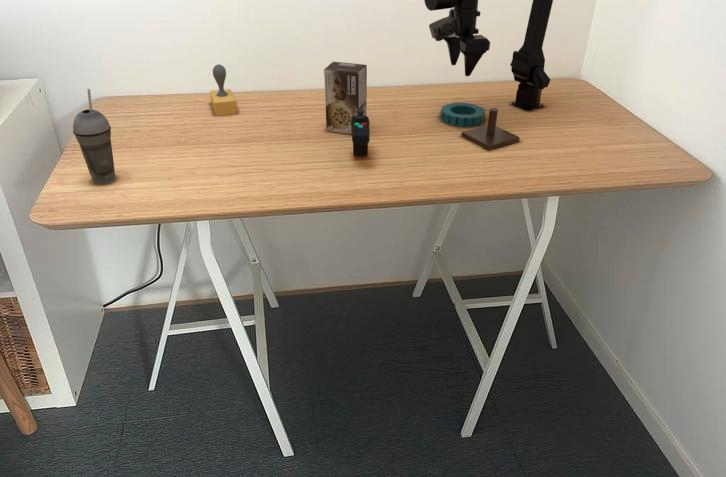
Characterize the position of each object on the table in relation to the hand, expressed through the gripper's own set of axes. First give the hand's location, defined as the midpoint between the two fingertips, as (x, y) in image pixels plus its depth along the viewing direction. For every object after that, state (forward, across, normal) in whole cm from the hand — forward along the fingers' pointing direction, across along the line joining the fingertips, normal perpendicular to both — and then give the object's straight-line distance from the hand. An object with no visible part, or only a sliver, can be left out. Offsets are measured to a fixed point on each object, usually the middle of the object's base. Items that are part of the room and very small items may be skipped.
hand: (460, 70), depth 156 cm
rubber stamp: (+13, -23, -59) cm, 64 cm away
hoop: (+13, -1, +2) cm, 13 cm away
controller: (+13, +16, -30) cm, 37 cm away
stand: (+13, +14, +3) cm, 19 cm away
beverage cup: (+12, +14, -87) cm, 89 cm away
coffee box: (+13, -1, -30) cm, 32 cm away
